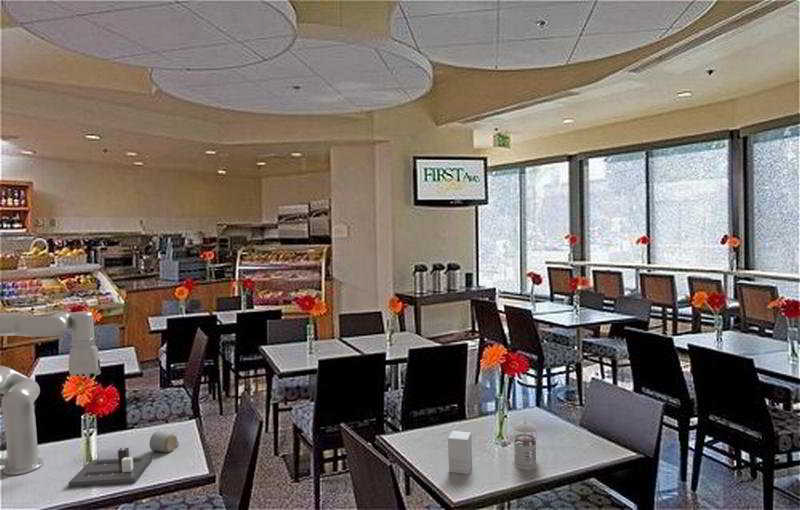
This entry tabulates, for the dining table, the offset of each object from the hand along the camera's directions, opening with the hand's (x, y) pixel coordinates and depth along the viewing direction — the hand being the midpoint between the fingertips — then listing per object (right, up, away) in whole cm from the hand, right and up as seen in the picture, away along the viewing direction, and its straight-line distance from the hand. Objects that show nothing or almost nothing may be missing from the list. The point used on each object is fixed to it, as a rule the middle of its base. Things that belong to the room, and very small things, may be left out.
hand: (86, 390), depth 218 cm
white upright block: (+23, -25, -15) cm, 37 cm away
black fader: (+18, -25, -6) cm, 31 cm away
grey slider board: (+16, -28, -12) cm, 34 cm away
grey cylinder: (+27, -26, +9) cm, 39 cm away
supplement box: (+143, -25, -15) cm, 146 cm away
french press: (+168, -24, -11) cm, 170 cm away
